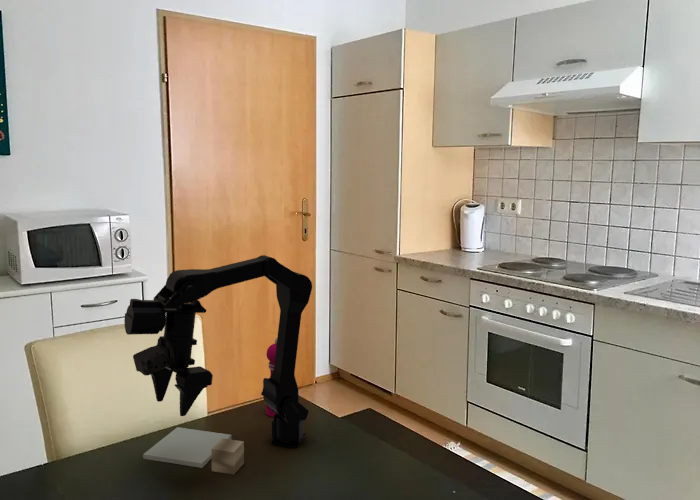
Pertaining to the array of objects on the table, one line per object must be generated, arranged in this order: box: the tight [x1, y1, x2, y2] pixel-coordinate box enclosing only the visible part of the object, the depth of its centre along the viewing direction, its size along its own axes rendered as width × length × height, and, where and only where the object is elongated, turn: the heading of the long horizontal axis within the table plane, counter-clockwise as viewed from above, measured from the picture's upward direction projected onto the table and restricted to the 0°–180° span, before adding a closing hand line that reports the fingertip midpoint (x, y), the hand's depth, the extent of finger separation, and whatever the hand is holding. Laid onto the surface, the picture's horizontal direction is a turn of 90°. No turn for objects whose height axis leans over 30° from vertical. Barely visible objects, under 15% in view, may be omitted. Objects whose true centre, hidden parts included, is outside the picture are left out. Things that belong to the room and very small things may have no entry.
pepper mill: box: [265, 337, 277, 418], centre depth 153 cm, size 7×7×20 cm
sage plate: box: [142, 426, 232, 469], centre depth 134 cm, size 14×14×1 cm
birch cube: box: [211, 438, 245, 476], centre depth 126 cm, size 5×5×5 cm
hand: (170, 408), depth 122 cm, fingers open, 9 cm apart
